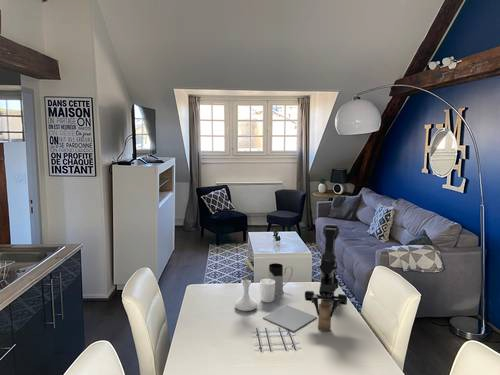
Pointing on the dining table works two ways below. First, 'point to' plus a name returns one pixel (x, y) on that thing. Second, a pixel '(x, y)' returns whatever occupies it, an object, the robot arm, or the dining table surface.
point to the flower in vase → (246, 294)
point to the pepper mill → (324, 316)
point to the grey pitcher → (278, 276)
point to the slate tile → (290, 318)
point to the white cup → (267, 290)
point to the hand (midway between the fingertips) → (324, 316)
